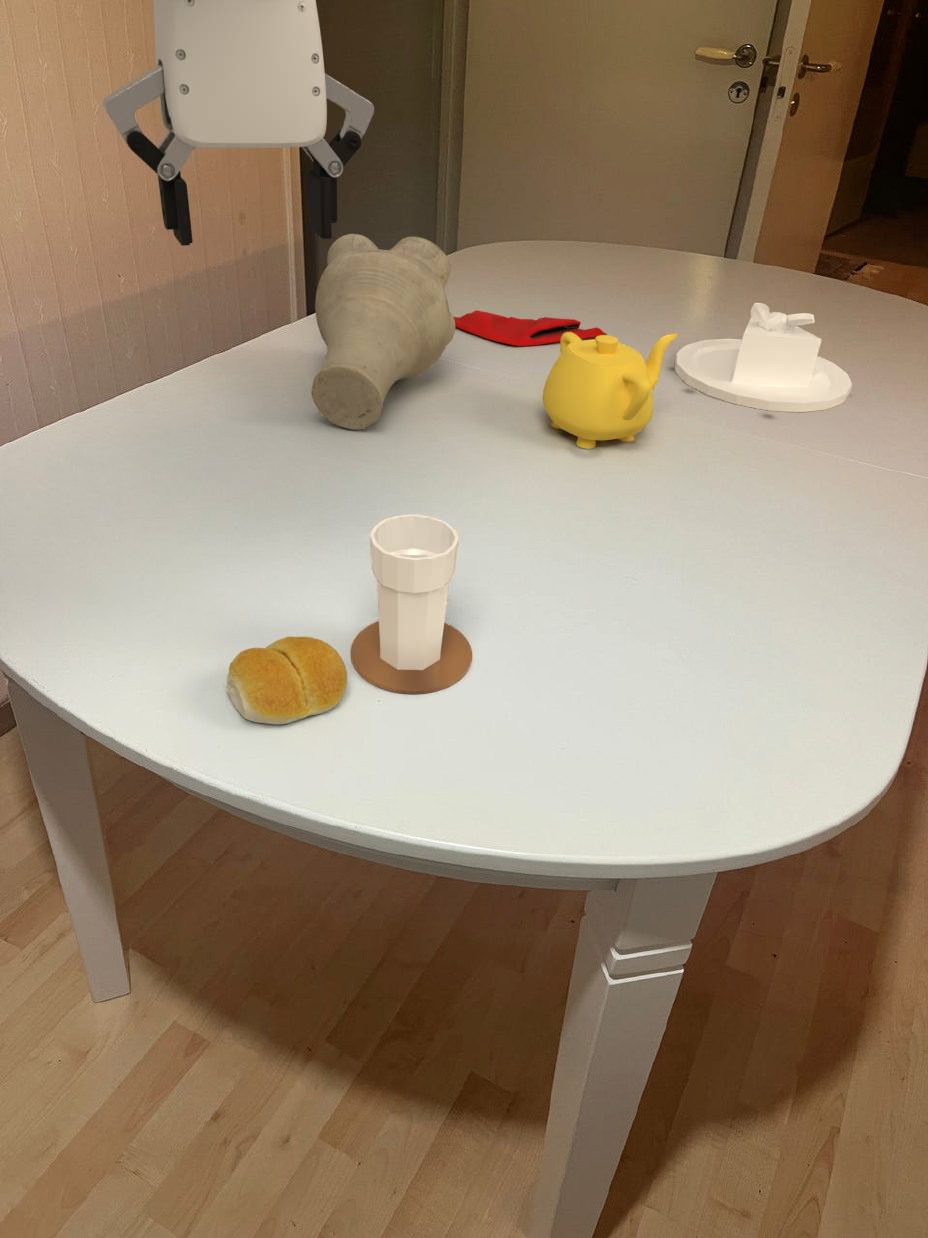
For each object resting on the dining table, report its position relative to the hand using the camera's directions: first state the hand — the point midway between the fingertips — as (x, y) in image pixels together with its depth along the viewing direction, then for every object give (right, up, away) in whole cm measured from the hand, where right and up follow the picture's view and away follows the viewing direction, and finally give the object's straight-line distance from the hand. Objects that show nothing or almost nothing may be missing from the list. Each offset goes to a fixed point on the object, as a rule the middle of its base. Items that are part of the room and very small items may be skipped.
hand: (253, 237), depth 64 cm
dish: (+58, +8, +70) cm, 91 cm away
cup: (+10, -29, +12) cm, 33 cm away
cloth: (+23, +18, +79) cm, 84 cm away
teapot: (+32, -3, +52) cm, 61 cm away
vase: (+2, +1, +54) cm, 54 cm away
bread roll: (+1, -33, +7) cm, 33 cm away
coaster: (+10, -30, +12) cm, 34 cm away
